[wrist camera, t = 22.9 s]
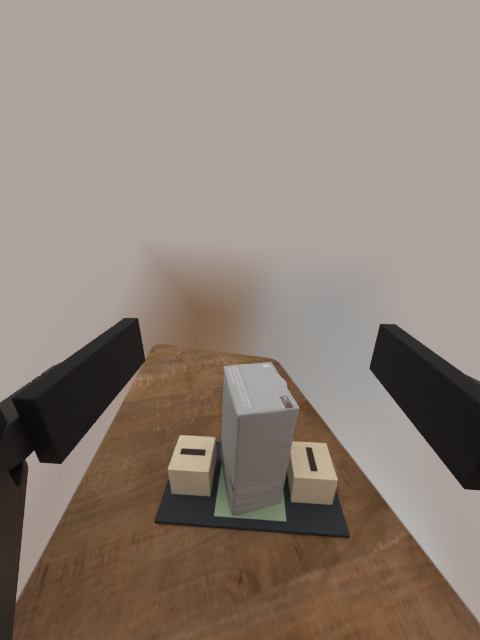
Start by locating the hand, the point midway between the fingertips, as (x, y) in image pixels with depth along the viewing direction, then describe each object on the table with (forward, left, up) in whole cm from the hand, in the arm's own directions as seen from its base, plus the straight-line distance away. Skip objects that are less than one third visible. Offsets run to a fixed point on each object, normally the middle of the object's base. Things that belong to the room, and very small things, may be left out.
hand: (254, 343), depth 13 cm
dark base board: (0, +10, -26) cm, 28 cm away
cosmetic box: (0, +10, -26) cm, 27 cm away
